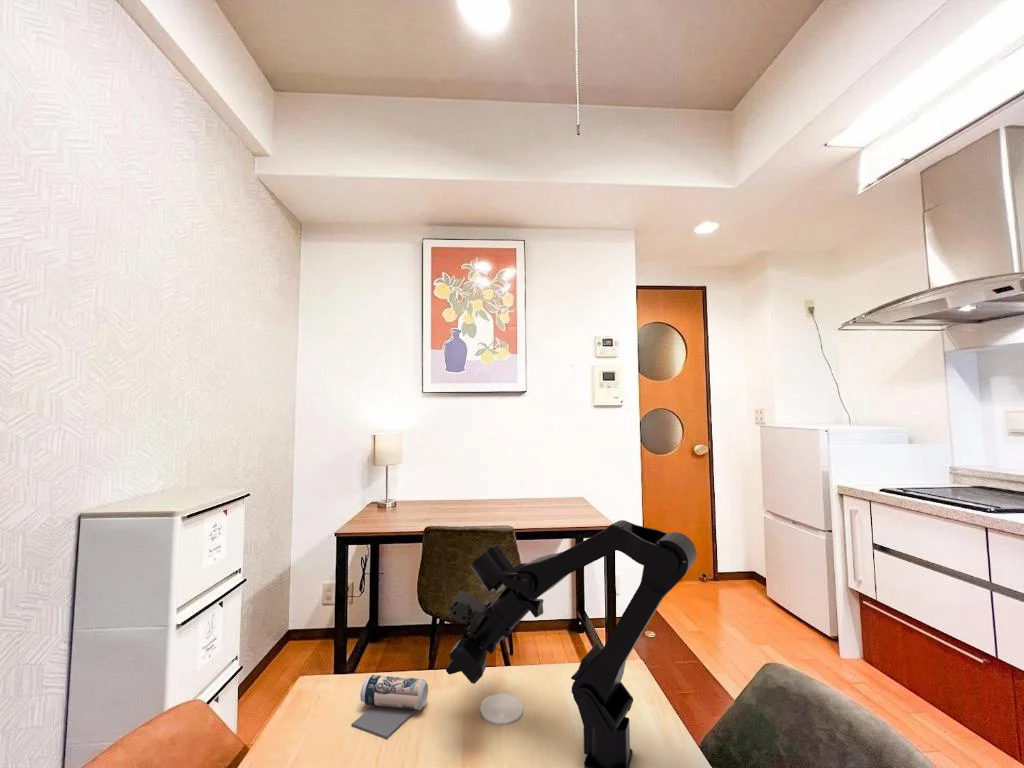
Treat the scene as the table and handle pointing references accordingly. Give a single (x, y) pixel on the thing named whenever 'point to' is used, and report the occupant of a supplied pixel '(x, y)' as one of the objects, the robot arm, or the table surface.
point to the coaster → (501, 709)
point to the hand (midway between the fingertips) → (447, 671)
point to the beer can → (394, 692)
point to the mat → (383, 720)
